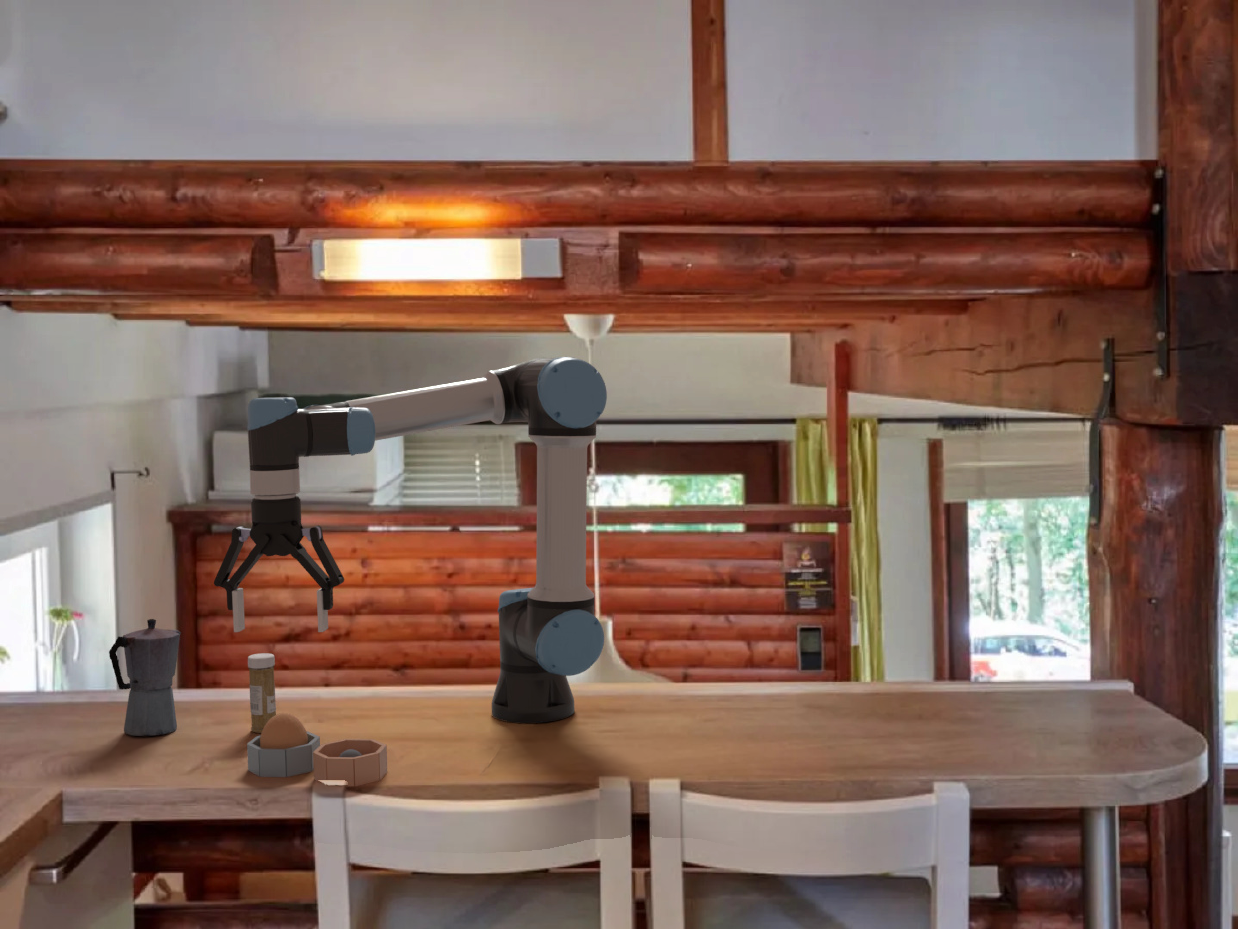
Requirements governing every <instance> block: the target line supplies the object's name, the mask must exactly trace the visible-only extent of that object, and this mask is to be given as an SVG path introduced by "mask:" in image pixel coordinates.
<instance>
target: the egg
mask: <svg viewBox="0 0 1238 929" xmlns="http://www.w3.org/2000/svg"><path fill="white" fill-rule="evenodd" d="M306 731H307V730H306V727H305V726H304V724H303V723H302V721H301V720H300V719H299V718H298V717H297V716H295V715H294V714H291V713H288V712H282V713H278V714H277V713H276V715H275V716H274V717H272V718H271V719H270V720H269V721H268V722H267V723H266V725H265V727H264V729H263V731H262V733H260V735H261V737H260V748H263V749H287V748H291V747H296V746H301V745H305V744H308V737H307V732H308V731H307V732H306Z"/></svg>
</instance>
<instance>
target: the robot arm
mask: <svg viewBox="0 0 1238 929" xmlns="http://www.w3.org/2000/svg"><path fill="white" fill-rule="evenodd" d="M607 394H608V392H607V386H606V383H605V380H604V378H603V376H602V374H601V373H600V371H598V370H597V368H596V367H595V366H594V365H592V364H591V363H589V362H587V361H586V360H583V359H580V358H576V357H570V356H561V357H560V356H559V357H539V358H538V357H537V358H534V359H531V360H526V361H524V362H520V363H517V364H514V365H510V366H507V367H506V366H505V367H503V368H498V369H493V370H488V371H486V372H485V373H484V375H483V376H482V377H481V378H475V379H473V378H472V379H469V380H464V381H463V380H462V381H456V382H451V383H445V384H438V385H432V386H427V387H426V386H425V387H421V388H416V389H415V388H414V389H409V390H403V391H397V392H393V393H385V394H379V395H375V396H369V397H363V398H357V399H352V400H351V399H350V400H345V401H339V402H332V403H327V404H321V405H319V404H312V405H311V404H310V405H308V406H305V407H303V408H299V406H298V405H297V404H298V403H297V400H296V398H294V397H292V396H291V397H290V396H289V397H286V396H285V397H284V396H282V397H281V396H280V397H255V398H253V399H251V400H250V401H249V403H248V405H247V426H246V429H247V440H248V441H247V442H248V456H249V458H248V459H249V483H250V484H249V486H250V489H249V490H250V495H251V496H254V498H252V499H251V501H250V507H251V508H250V510H251V528H245V527H244V526H238V527H234V528H232V530H231V540H230V541H231V542H230V544H229V546H228V548H227V550H226V553H225V556H224V558H223V559H222V563H221V565H220V567H219V568H218V571H217V573H216V576H215V577H214V580H213V585H214V586H215V587H220V588H223V589H224V590H225V592H226V607H227V609H228V611H232V617H233V618H232V620H233V633H239V632H242V631H244V630H245V629H246V626H245V625H246V624H245V602H244V601H245V600H244V599H245V598H244V588H243V587H240V584H241V583H243V581H244V579H245V578H246V576H248V574H249V572H250V571H251V570H252V569H253V568H254V566H255V565H256V563H258V562H259V560H260V558H261V557H263V556H266V557H273V556H279V557H286V556H289V555H290V556H291V557H293V559H294V560H296V561H297V562H298V563H299V564H300V565H301V567H303V569H305V571H306V572H307V573H308V574H309V576H310V577H311V578H312V579H313V580H314V581H315V583H316V584H317V585H318V587H320V588H319V589H318V590H316V607H317V608H316V610H317V632H318V633H324V632H326V631H327V630H328V629H329V613H328V611H330V610H331V609H333V606H334V591H333V590H334V588H335V587H337V586H340V585H341V584H343V583H344V582H345V577H344V576H343V573H342V572H341V570H340V568H339V566H338V564H337V562H336V560H335V558H334V556H333V554H332V553H331V550H330V549H329V547H328V545H327V544H326V541H325V539H324V534H323V528H322V526H321V525H316V526H312V527H305V528H304V527H303V525H302V524H303V523H302V507H301V504H302V503H301V502H302V501H301V498H300V496H297V494H299V493H300V492H301V485H300V483H301V481H300V480H301V479H300V458H301V457H304V458H305V457H306V458H308V457H325V456H348V455H349V456H355V455H362V454H368V453H370V452H372V450H373V448H374V446H375V444H376V441H382V440H387V439H392V438H397V437H404V436H408V435H409V436H410V435H413V434H414V435H415V434H420V433H425V432H426V433H427V432H431V431H437V430H441V429H448V428H452V427H453V428H454V427H458V426H459V427H460V426H464V425H465V426H466V425H470V424H476V423H480V422H486V421H487V422H488V421H491V422H492V423H493V424H496V425H502V424H507V423H519V422H520V423H522V422H523V423H528V424H527V425H528V426H527V427H528V430H527V432H528V433H527V434H528V438H530V440H532V441H533V443H534V444H535V445H536V559H535V560H536V562H535V563H536V565H535V566H536V567H535V568H536V571H535V572H536V575H535V577H536V578H535V580H536V582H535V586H534V587H527V588H515V589H510V590H508V589H507V590H504V591H502V592H501V593H500V595H499V597H498V608H497V613H498V633H499V635H498V636H499V664H500V668H499V669H500V670H499V671H500V673H499V676H498V679H497V683H496V686H495V690H494V693H493V696H492V699H491V716H492V717H494V718H495V719H497V720H498V721H504V722H507V723H508V722H509V723H514V724H515V723H517V724H539V723H548V722H549V723H550V722H555V721H559V720H562V719H563V720H564V719H567V718H568V717H570V716H572V715H573V714H574V713H575V698H574V695H573V691H572V688H571V687H570V683H569V681H568V680H569V679H568V677H571V676H576V675H579V674H581V673H584V672H586V671H587V670H589V669H590V668H591V667H592V666H593V665H594V664H595V663H596V662H597V661H598V659H599V658H600V657H601V654H602V652H603V649H604V645H605V631H604V629H603V626H602V624H601V621H599V619H598V618H597V617H596V615H595V597H596V596H595V593H594V592H593V591H592V590H591V589H590V588H589V587H588V586H587V583H586V582H587V508H588V507H587V506H588V504H587V500H588V498H587V496H588V495H587V494H588V493H587V488H588V484H587V483H588V482H587V481H588V448H589V447H588V446H589V445H590V444H591V443H592V442H593V441H594V440H595V439H596V438H597V421H598V420H599V418H600V417H601V415H602V414H603V412H604V410H605V409H606V408H605V407H606V404H607V398H608V395H607ZM249 537H250V539H251V540H252V541H253V543H254V544H255V545H254V547H253V548H252V549H251V550H250V551H249V554H248V555H247V557H246V558H245V559H244V561H243V562H242V563H241V564H240V566H239V567H238V568H237V570H236V571H235V572H234V573H233V574H232V576H231V573H232V572H233V570H234V566H235V564H236V562H237V560H238V558H239V555H240V553H241V551H242V549H243V546H244V543H245V542H246V541H248V539H249ZM304 537H306V539H307V541H308V542H311V546H312V547H313V549H314V551H315V553H316V556H317V557H318V559H319V561H320V562H321V564H322V567H323V568H324V570H325V571H324V570H323V568H322V567H321V566H320V565H319V564H318V563H317V562H316V561H315V559H314V558H313V557H312V555H310V554H309V553H308V552H307V549H306V547H304V545H303V544H302V543H301V542H302V540H303V539H304ZM230 576H231V577H230Z"/></svg>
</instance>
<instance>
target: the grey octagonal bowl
mask: <svg viewBox="0 0 1238 929" xmlns="http://www.w3.org/2000/svg"><path fill="white" fill-rule="evenodd" d="M306 732H307V737H308V744H305V745H301V746H296V747H291V748H287V749H263V748H260V737H261V734H260V735H257V736H255V737H254V738H253V739H251V740H249V742H247V744H246V746H247V747H246V748H247V749H246V752H247V770H248V772H251V773H252V774H254V775H256V776H258V777H259V778H260V777H261V778H270V777H271V778H286V777H287V778H289V777H292V776H297V775H298V776H299V775H302V774H306V773H310V772H314V764H313V752H314V751H315V750H316V749H317V748H318V747H319V746H320V745H321V736H319V735H318V734H317V735H316V734H315V733H313V732H310V731H307V730H306Z"/></svg>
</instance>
